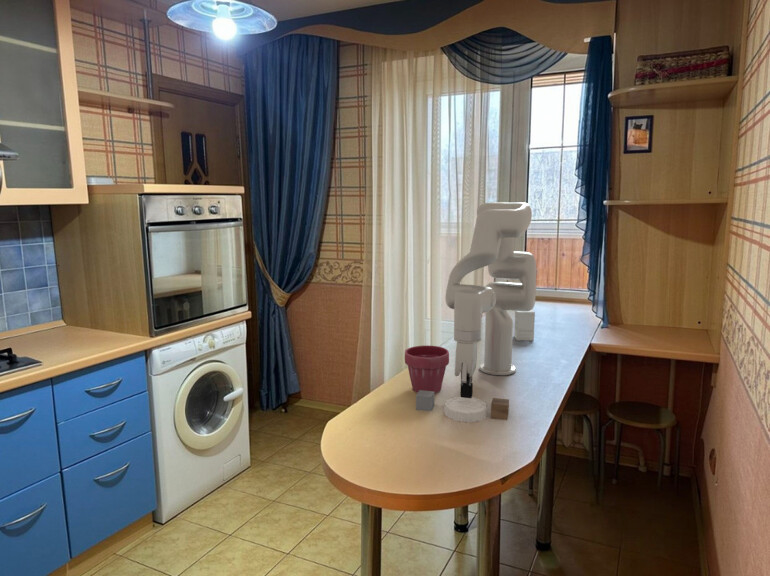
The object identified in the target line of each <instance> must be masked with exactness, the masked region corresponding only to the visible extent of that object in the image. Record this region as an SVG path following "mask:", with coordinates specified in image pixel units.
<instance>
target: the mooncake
mask: <svg viewBox="0 0 770 576" xmlns="http://www.w3.org/2000/svg"><path fill="white" fill-rule="evenodd" d="M443 412H444V414H445V417H447V418H448V419H449V420H452V421H456V422H457V421H458V422H459V423H463V422H464V423H475V422H480V421H483V420H486V419H485V418H487V416H488V415H487V414H488V405H487V403H486V402H485V401H483V400H482V399H479V398H476V397H472V398H463V397H461V396H456V397H451V398H449V399H447V400H446V401H445V402H444V411H443Z"/></svg>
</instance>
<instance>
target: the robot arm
mask: <svg viewBox="0 0 770 576" xmlns="http://www.w3.org/2000/svg"><path fill="white" fill-rule="evenodd" d="M476 213H477V214H476V215H477V217H476V219H475V225H474V230H473V235H472V240H471V244H470V249H469V253H467V254H466V255H464V256H463V257H462V258H460V260H459V261H458V262H456V264H455V265H454V266H453V268H452V269H451V272H450V274H449V276H448V282H447V285H446V290H445V304H446V305H447V307H448V308H449V309H452V310H453V311H454V313H453V317H454V318H453V319H454V320H453V340H454V341H455V342H456V346H455V363H454V376H455V377H458V376H460V391H459V393H460V395H459V397H463V398H473V392H474V391H473V386H474V385H473V377H474V373H475V370H476V368H477V359H478V343H479V342H481V341H482V324H483V323H482V320H483V319H482V314H483V313H485V315H484V316H485V317H484V318H485V323H484V326H485V329H484V354H483V355H484V356H483V357H484V358H483V361H484V362H482V363H481V364H480V365H479V371H481V372H482V373H485V374H488V375H493V376H509V375H512V374H515V373H516V372H517V367H516V366H515V365H514V364H512V361H513V359H512V358H513V337H514V336H513V335H514V334H513V332H514V322H513V318H512V316H511V315H510V314H509V312H508V311H514V312H515V311H530V310H533V309H534V307H535V304H536V293H537V292H536V291H537V289H536V288H537V262H536V258H535V256H534V254H532V253H531V252H527V251H515V249H514V247H515V246H514V245H515V243H514V241H515V238H521V237H522V236H523V235H524V234H525V233H526V231H527V230H528V228H529V227H530V224H531V222H532V219H533V218H532V217H533V214H532V213H533V212H532V208H531V206H530V205H529V203H527V202H506V201H504V202H503V201H500V202H498V201H496V202H495V201H494V202H483V203H482V204H479V205H478V206H477V209H476ZM484 267H487V269H488V274H489V276H490V277H491V278H493V279H499V280H513V281H520V282H509V281H508V282H507V281H492V282H490V283H487V284H486V285H475V284H464V283H463V284H462V283H461V282H462V280H463V278H464V277H466V276H467V275H468V274H470V273H472V272H474V271H477V270H480V269H482V268H484Z"/></svg>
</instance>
